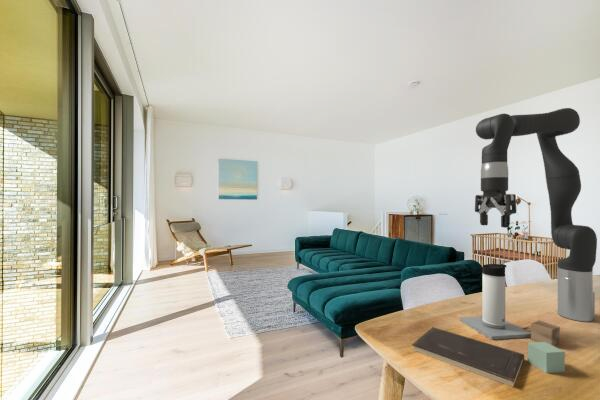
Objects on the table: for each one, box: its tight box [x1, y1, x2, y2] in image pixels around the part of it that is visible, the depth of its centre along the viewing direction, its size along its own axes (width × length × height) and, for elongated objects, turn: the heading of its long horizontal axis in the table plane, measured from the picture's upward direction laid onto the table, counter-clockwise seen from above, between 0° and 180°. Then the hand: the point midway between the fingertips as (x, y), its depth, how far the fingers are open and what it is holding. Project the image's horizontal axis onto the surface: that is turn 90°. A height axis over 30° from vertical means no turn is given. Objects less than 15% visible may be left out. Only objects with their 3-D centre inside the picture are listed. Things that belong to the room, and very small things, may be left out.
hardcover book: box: [411, 326, 525, 388], centre depth 78 cm, size 16×23×2 cm
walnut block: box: [530, 320, 561, 347], centre depth 86 cm, size 5×5×5 cm
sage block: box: [527, 341, 566, 374], centre depth 73 cm, size 5×5×5 cm
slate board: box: [459, 316, 531, 340], centre depth 94 cm, size 14×14×1 cm
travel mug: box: [481, 263, 507, 329], centre depth 94 cm, size 6×7×20 cm
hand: (494, 226), depth 94 cm, fingers open, 8 cm apart
